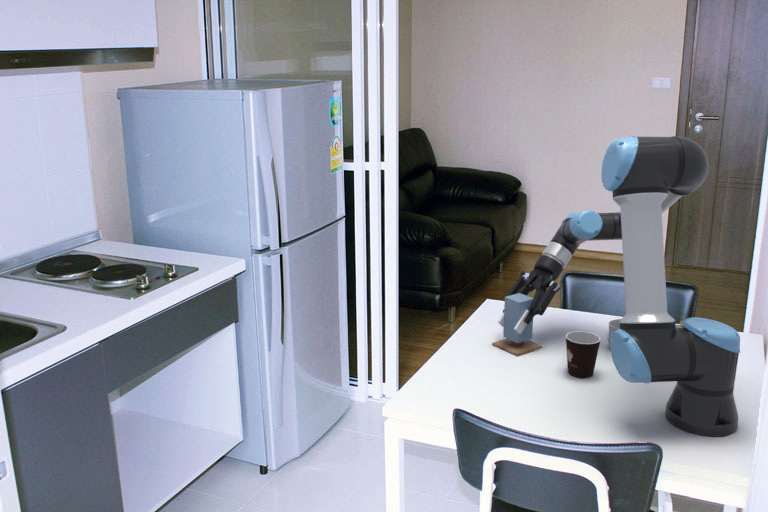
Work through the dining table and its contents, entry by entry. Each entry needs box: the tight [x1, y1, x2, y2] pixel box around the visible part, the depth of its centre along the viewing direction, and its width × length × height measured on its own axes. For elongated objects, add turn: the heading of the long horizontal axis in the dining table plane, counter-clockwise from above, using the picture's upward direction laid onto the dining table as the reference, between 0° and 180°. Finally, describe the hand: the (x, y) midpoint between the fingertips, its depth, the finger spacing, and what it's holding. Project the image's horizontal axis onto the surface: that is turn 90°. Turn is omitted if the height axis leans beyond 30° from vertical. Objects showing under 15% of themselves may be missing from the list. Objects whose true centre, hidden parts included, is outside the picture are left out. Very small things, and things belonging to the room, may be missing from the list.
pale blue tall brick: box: [502, 293, 534, 343], centre depth 202 cm, size 6×6×12 cm
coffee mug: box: [565, 330, 601, 380], centre depth 187 cm, size 12×9×10 cm
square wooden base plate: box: [491, 338, 544, 357], centre depth 203 cm, size 10×10×8 cm
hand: (508, 327), depth 200 cm, fingers closed on pale blue tall brick, 6 cm apart
